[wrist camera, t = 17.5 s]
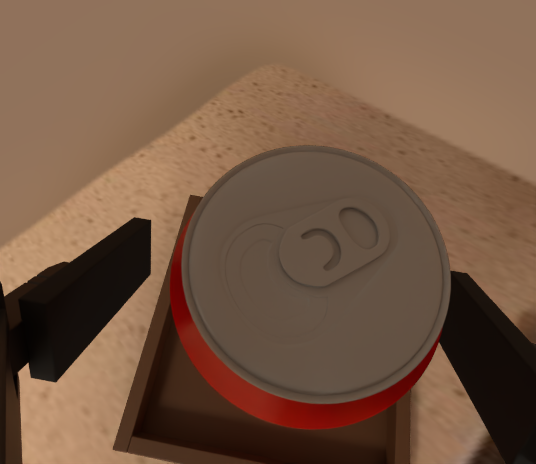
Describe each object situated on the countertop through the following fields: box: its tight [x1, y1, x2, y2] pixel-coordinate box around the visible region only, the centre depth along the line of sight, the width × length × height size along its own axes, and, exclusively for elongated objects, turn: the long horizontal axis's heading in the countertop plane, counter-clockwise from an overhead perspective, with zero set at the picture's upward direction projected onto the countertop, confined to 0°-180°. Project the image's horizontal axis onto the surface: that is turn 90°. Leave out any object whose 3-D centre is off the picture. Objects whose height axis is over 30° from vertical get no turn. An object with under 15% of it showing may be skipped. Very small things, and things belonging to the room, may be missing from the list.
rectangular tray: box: [113, 195, 411, 464], centre depth 22 cm, size 16×16×2 cm
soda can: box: [170, 145, 451, 430], centre depth 15 cm, size 8×8×15 cm
